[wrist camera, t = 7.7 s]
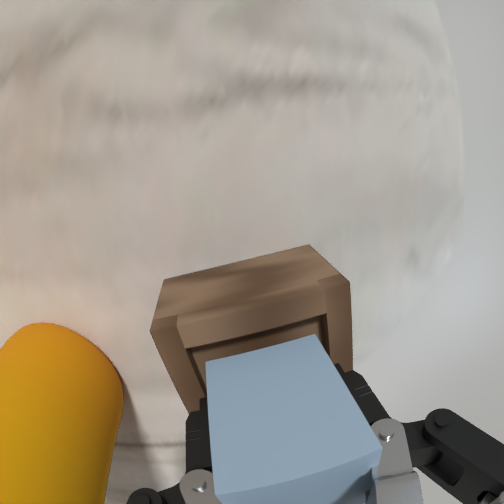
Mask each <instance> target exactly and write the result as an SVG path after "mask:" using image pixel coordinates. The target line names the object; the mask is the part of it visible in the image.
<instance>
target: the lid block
mask: <svg viewBox="0 0 504 504" xmlns="http://www.w3.org/2000/svg"><path fill="white" fill-rule="evenodd" d="M206 383H207V402H208V418H209V433H210V446H211V458H212V470H213V480H214V490H215V496H216V497H217V498H218V499H219V500H220V502H221V503H222V504H364V503H365V492H366V491H367V490H370V489H371V478H370V472H371V468H372V467H374V466H377V465H379V462H380V458H381V454H382V449H383V447H382V446H381V444H380V442H379V440H378V439H377V437H376V435H375V434H374V432H373V430H372V428H371V427H370V425H369V423H368V422H367V420H366V418H365V417H364V415H363V413H362V411H361V410H360V408H359V406H358V405H357V403H356V401H355V400H354V398H353V396H352V395H351V393H350V391H349V390H348V388H347V386H346V384H345V383H344V381H343V379H342V378H341V376H340V374H339V373H338V371H337V369H336V368H335V366H334V364H333V363H332V361H331V359H330V358H329V356H328V354H327V353H326V351H325V349H324V348H323V346H322V344H321V343H320V341H319V339H318V338H317V336H316V334H313V335H309V336H306V337H302V338H299V339H296V340H292V341H288V342H285V343H281V344H277V345H274V346H270V347H266V348H262V349H258V350H254V351H250V352H246V353H242V354H238V355H234V356H229V357H225V358H220V359H216V360H211V361H207V362H206Z"/></svg>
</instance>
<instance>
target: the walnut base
mask: <svg viewBox="0 0 504 504" xmlns="http://www.w3.org/2000/svg"><path fill="white" fill-rule="evenodd" d="M150 333H151V335H152V338H153V340H154V342H155V345H156V347H157V349H158V351H159V354H160V356H161V358H162V360H163V362H164V365H165V367H166V369H167V371H168V373H169V375H170V377H171V379H172V381H173V384H174V386H175V388H176V390H177V392H178V394H179V396H180V398H181V400H182V401H183V403H184V405H185V407H186V409H187V411H188V413H189V414H190V412H193V411H199V410H200V405H199V400H200V398H204V397H207V383H206V362H207V361H211V360H216V359H220V358H225V357H229V356H234V355H238V354H242V353H246V352H250V351H254V350H258V349H262V348H266V347H270V346H274V345H277V344H281V343H285V342H288V341H292V340H296V339H299V338H302V337H306V336H309V335H313V334H316V336H317V338H318V339H319V341H320V343H321V344H322V346H323V348H324V349H325V351H326V353H327V354H328V356H329V358H330V359H331V361H332V363H333V364H336V363H339V364H340V366H341V367H342V369H343V370H344V372H345V373H346V372H348V371H351V370H353V349H352V314H351V294H350V282H349V281H348V280H347V279H346V278H345V277H344V276H343V275H342V274H341V273H340V272H339V271H338V270H336V269H335V268H334V267H333V266H332V265H331V264H330V263H329V262H328V261H327V260H326V259H325V258H323V257H322V256H321V255H320V254H319V253H318V252H317V251H316V250H315V249H314V248H312V247H311V246H310V245H305V246H301V247H297V248H293V249H289V250H285V251H281V252H277V253H273V254H269V255H264V256H260V257H256V258H252V259H248V260H244V261H240V262H236V263H231V264H227V265H223V266H219V267H215V268H211V269H206V270H202V271H198V272H194V273H190V274H186V275H181V276H177V277H173V278H169V279H165V280H164V281H163V285H162V288H161V292H160V295H159V299H158V303H157V306H156V310H155V314H154V317H153V321H152V325H151V329H150Z"/></svg>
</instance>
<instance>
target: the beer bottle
mask: <svg viewBox="0 0 504 504" xmlns="http://www.w3.org/2000/svg"><path fill="white" fill-rule="evenodd" d="M123 400H124V397H123V388H122V384H121V381H120V379H119V376H118V373H117V372H116V370H115V368H114V366H113V365H112V363H111V362H110V361H109V359H108V358H107V357H106V356H105V355H104V354H103V353H102V352H101V351H100V350H99V349H98V348H97V347H96V346H95V345H94V344H93V343H91V342H90V341H89V340H87V339H86V338H85V337H83V336H81V335H79V334H78V333H76V332H74V331H72V330H70V329H68V328H65V327H63V326H59V325H55V324H50V323H36V324H30V325H28V326H25V327H23V328H21V329H20V330H18V331H17V332H16V333H15V334H13V335H12V336H11V337H10V338H9V339H8V340H7V341H6V343H5V344H4V345H3V347H2V348H1V349H0V504H104V502H105V495H106V489H107V483H108V477H109V471H110V465H111V460H112V454H113V449H114V445H115V440H116V436H117V432H118V429H119V425H120V421H121V417H122V411H123Z"/></svg>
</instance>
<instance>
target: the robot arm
mask: <svg viewBox="0 0 504 504" xmlns="http://www.w3.org/2000/svg"><path fill="white" fill-rule="evenodd" d="M334 366H335V368H336V369H337V371H338V373H339V374H340V376H341V378H342V379H343V381H344V383H345V384H346V386H347V388H348V390H349V391H350V393H351V395H352V396H353V398H354V400H355V401H356V403H357V405H358V406H359V408H360V410H361V411H362V413H363V415H364V417H365V418H366V420H367V422H368V423H369V425H370V427H371V428H372V430H373V432H374V434H375V435H376V437H377V439H378V440H379V442H380V444H381V446H382V447H383V449H382V454H381V458H380V462H379V465H377V466H374V467H372V468H371V472H370V478H371V489H370V490H367V491H366V492H365V504H423V498H422V492H421V486H420V480H419V476H418V474H417V472H415V471H413V467H417V468H418V469H419V470H421V471H422V472H423V473H424V474H425V475H427V476H428V477H429V478H430V479H432V480H433V481H434V482H435V483H437V484H438V485H440V486H441V487H442V488H443V489H444V490H446V491H447V492H448V493H450V494H451V495H453V496H454V497H455V498H456V499H458V500H459V501H460V502H462V503H463V504H504V444H502V443H501V442H499V441H497V440H496V439H495V438H493V437H491V436H490V435H488V434H486V433H485V432H483V431H482V430H480V429H479V428H477V427H476V426H474V425H473V424H471V423H469V422H468V421H466V420H465V419H463V418H462V417H460V416H459V415H457V414H456V413H454V412H452V411H451V410H448V409H436V410H434V411H432V412H430V413H429V414H428V415H427V417H426V419H425V420H421V421H417V422H411V423H401V422H399V421H397V420H395V419H392V418H391V417H390V416H389V415H388V414H387V412H386V411H385V409H384V408H383V406H382V405H381V403H380V402H379V400H378V399H377V397H376V396H375V394H374V393H373V392H372V390H371V388H370V387H369V386H368V384H367V382H366V381H365V379H364V378H363V377H362V375H360V374H358V373H357V372H355V371H354V370H351V371H348V372H346V373H345V372H344V370H343V369H342V367H341V366H340V364H339V363H336V364H334ZM199 405H200V410H199V411H193V412H190V414H189V416H188V418H187V420H186V473H185V475H184V476H183V477H182V479H181V481H180V482H179V483H178V484H177V485H175V486H173V487H171V488H168V489H165V490H163V491H160V492H156V491H155V490H153V489H149V488H142V489H138V490H136V491H135V492H133V493H132V494H131V495H130V497H129V499H128V501H127V504H222V503H221V502H220V500H219V499H218V498H217V497H216V496H215V490H214V480H213V470H212V458H211V446H210V433H209V418H208V402H207V397H204V398H200V400H199Z"/></svg>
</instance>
